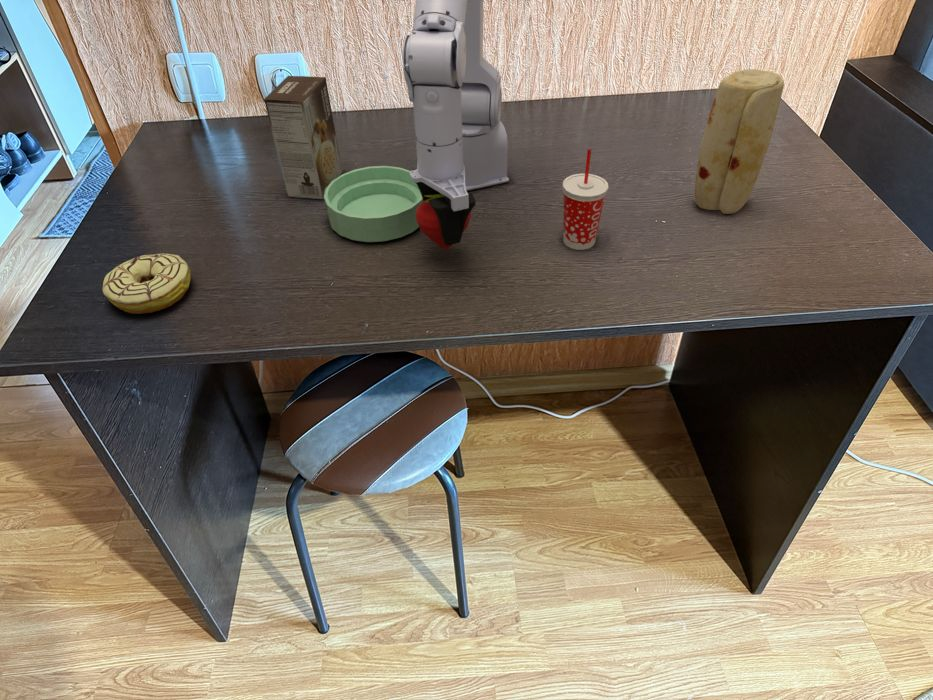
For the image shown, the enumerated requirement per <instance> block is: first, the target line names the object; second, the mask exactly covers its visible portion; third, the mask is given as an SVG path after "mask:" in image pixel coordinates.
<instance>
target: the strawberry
mask: <svg viewBox="0 0 933 700" xmlns="http://www.w3.org/2000/svg"><path fill="white" fill-rule="evenodd" d="M425 197H430V198H428V199H426V200H425V201H423V202H422V203H421V204H420V205H419V206H418V208H417V211H416V221H417V223H418V225H419V227H418V228H419V230H420V231H421V233H423V234H424V235H425V236H426V238H427V239H429V240H430V241H431V242H432V243H434V244H436V245H437V246H438V247H439V248H440V249H442V250H449V249H450V248H452V247H453V245H454V244H452V245H448V246H446V245H445V243H444V241H443V238H442V234H441V229H440V225H439V221H438V218H437V215H436V213H435V211H434V209H433V208H432V206H431V205H430V203H429V200H430V199H434V198H439V197H444V195H443V194H441V193H440V195H439V194H437V195H425ZM471 216H472V211H471V212H470V213H469V215H468V217H467V220H466V222H465V226H464V230H463V233H465V231H466V230H467V228H468V227H469V223H470V221H471Z"/></svg>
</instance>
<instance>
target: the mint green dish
mask: <svg viewBox="0 0 933 700" xmlns="http://www.w3.org/2000/svg"><path fill="white" fill-rule="evenodd" d="M410 171H411V170H410V169H406V168H403V167H399V166H390V165H376V166H375V165H372V166H365V167H361V168H355V169H352V170H350V171H347V172H345V173H342V174H341V175H340V176H339V177H338V178H336V179H334V180H333V181H332V182H331V183H330V184H329V185H328V187H327V188H326V189H325V194H324V199H323V200H324V206H325V210H326V215H327V221H328V223H329V225H330V228H331V230H333V231H334V232H336V234H338V235H339V236H340V237H344V238H346V239H349V240H351V241H357V242H364V243H378V242H388V241H392V240H395V239H399V238H402V237H405V236H407V235H410V234H412V233H413V232H415V231H416V230H418V229H419V228H420V227H419V225H418V223H417V221H416V211H417V208H418V206H419V205H420V204H421V203H422V202H423V199H422V196H421V193H420V190H419V188H418V186H417V184H416V183H415V182H413V181H412V180H411V178H410V174H409V172H410Z"/></svg>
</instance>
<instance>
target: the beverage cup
mask: <svg viewBox="0 0 933 700" xmlns="http://www.w3.org/2000/svg"><path fill="white" fill-rule="evenodd" d="M591 158H592V148H587V153H586V161H585V162H586V163H585V170H584V173H575V174H571V175H569V176H567V177H566V178H564V180H563V181H562V193H563V226H562V227H563V228H562V229H563V233H562V242H563V244H564V245H565V246H566V247H568V248H570V249H573V250H581V251H582V250H588V249H591V248H592V247H593V246H594V245H595V244H596V241H597V236H598V231H599V226H600V221H601V216H602V212H603V208H604V207H603V206H604V203H605V197H606V196H607V194H608V191H609V183H608V182H607V180H606V179H605V178H603V177H601V176H599V175H597V174H592V173H590V166H591Z"/></svg>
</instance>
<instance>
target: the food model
mask: <svg viewBox="0 0 933 700" xmlns="http://www.w3.org/2000/svg"><path fill="white" fill-rule="evenodd" d="M784 86H785V80H784V79H783V78H782V76H781V75H780V74H778V73H776V72H774V71H771V70H762V69H757V68H755V69H754V68H753V69H751V68H750V69H748V68H747V69H742V70H736V71H733V72H731V73H729V74H728V75H727V76H725V77H723V79H722V80H721V81H720V83H719V85H718V87H717V90H716V92H715V96H714V99H713V102H712V106H711V109H710V112H709V115H708V118H707V121H706V125H705V128H704V133H703V136H702V140H701V143H700V149H699V155H698V161H697V169H696V176H695V185H694V201H695V203H696V205H697V206H698V208H700V209H704V210H708V211H709V210H710V211H721V213H722V214H724V215H727V214H728V215H732V214H735V213H736V212H739V211H740V210H741V209H742V208H743V207H744V205H745V204H746V203H747V202H748V200H749V198H750V197H751V195H752V193H753V190H754V187H755V184H756V183H757V180H758V177H759V174H760V172H761V170H762V166H763V163H764V161H765V158H766V155H767V152H768V149H769V147H770V143H771V140H772V136H773V132H774V129H775V128H774V127H775V124H776V120H777V114H778V111H779V108H780V103H781V99H782V95H783V91H784Z"/></svg>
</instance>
